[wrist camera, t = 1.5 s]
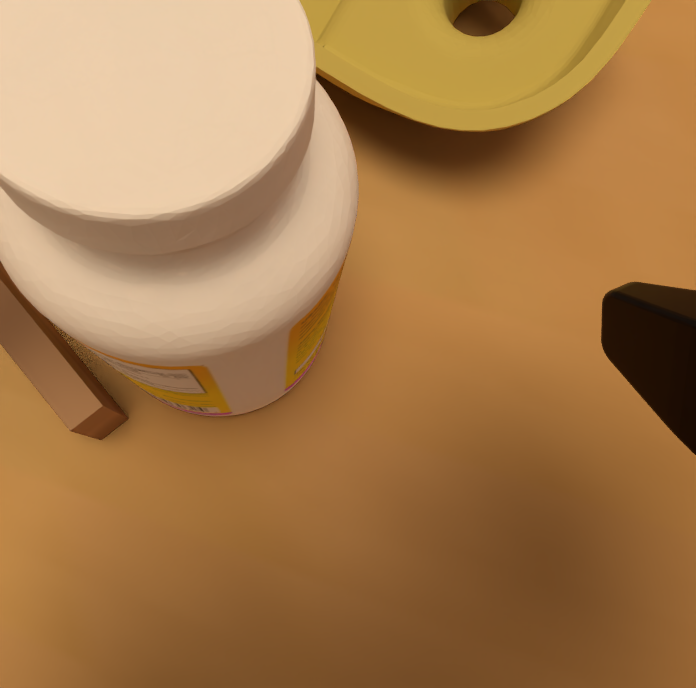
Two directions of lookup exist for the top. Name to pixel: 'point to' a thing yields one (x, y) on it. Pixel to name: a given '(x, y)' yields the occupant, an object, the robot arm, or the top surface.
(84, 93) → the supplement bottle
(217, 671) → the top surface
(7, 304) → the walnut holder rail
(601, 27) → the plastic component
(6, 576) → the top surface
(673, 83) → the top surface
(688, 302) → the robot arm
